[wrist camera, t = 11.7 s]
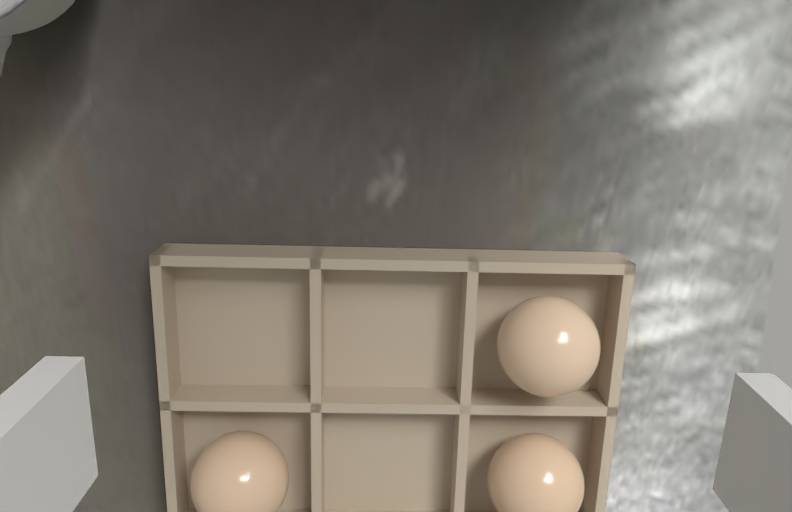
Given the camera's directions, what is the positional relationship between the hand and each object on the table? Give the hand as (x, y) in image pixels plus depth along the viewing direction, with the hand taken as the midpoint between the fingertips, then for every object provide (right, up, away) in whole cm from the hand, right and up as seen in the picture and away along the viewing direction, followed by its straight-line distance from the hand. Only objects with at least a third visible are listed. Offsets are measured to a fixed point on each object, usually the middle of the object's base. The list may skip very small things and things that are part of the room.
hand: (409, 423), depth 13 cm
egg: (-9, -9, +28) cm, 30 cm away
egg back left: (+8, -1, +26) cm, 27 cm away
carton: (-1, -5, +27) cm, 28 cm away
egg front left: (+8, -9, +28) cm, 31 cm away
